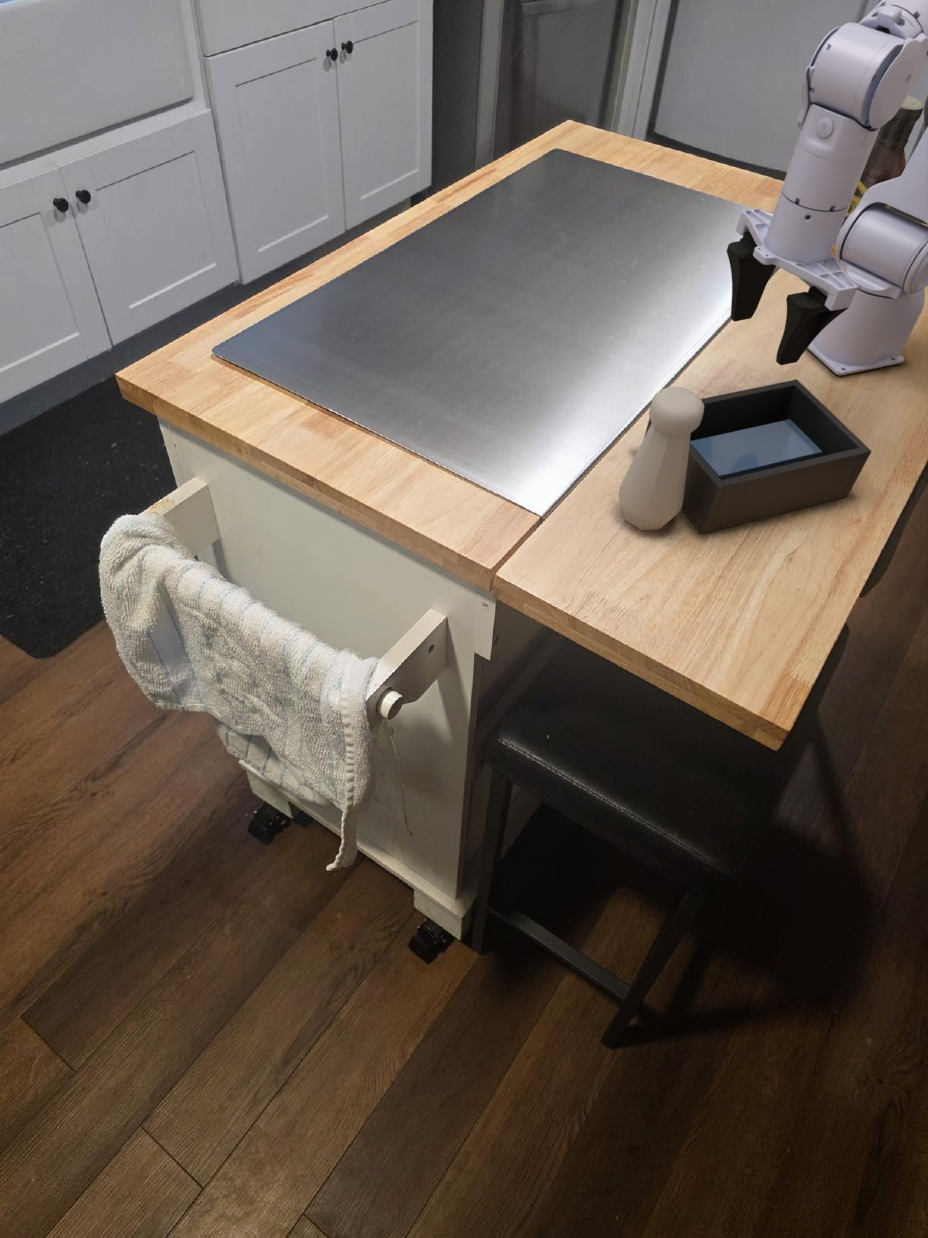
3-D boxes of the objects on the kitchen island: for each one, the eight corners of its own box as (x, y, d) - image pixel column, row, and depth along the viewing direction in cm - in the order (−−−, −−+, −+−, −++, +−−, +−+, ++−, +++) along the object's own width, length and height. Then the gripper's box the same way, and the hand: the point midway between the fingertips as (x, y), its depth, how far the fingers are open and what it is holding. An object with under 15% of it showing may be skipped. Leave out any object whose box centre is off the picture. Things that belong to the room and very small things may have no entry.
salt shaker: (685, 510, 81) (727, 392, 71) (662, 546, 78) (702, 428, 68) (628, 486, 83) (661, 367, 73) (603, 520, 79) (633, 401, 69)
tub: (777, 424, 91) (796, 378, 86) (847, 496, 84) (872, 450, 80) (638, 455, 86) (651, 408, 82) (700, 534, 79) (718, 487, 75)
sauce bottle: (807, 251, 116) (870, 85, 100) (853, 255, 116) (923, 90, 101) (818, 276, 111) (885, 107, 96) (866, 280, 112) (941, 112, 96)
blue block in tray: (681, 465, 84) (689, 440, 82) (779, 443, 88) (790, 418, 85) (709, 500, 81) (719, 475, 79) (811, 475, 85) (822, 451, 82)
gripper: (728, 164, 76) (687, 306, 87) (831, 243, 68) (772, 390, 78) (793, 155, 78) (746, 295, 89) (901, 231, 70) (835, 376, 80)
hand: (763, 339), depth 84 cm, fingers open, 7 cm apart
